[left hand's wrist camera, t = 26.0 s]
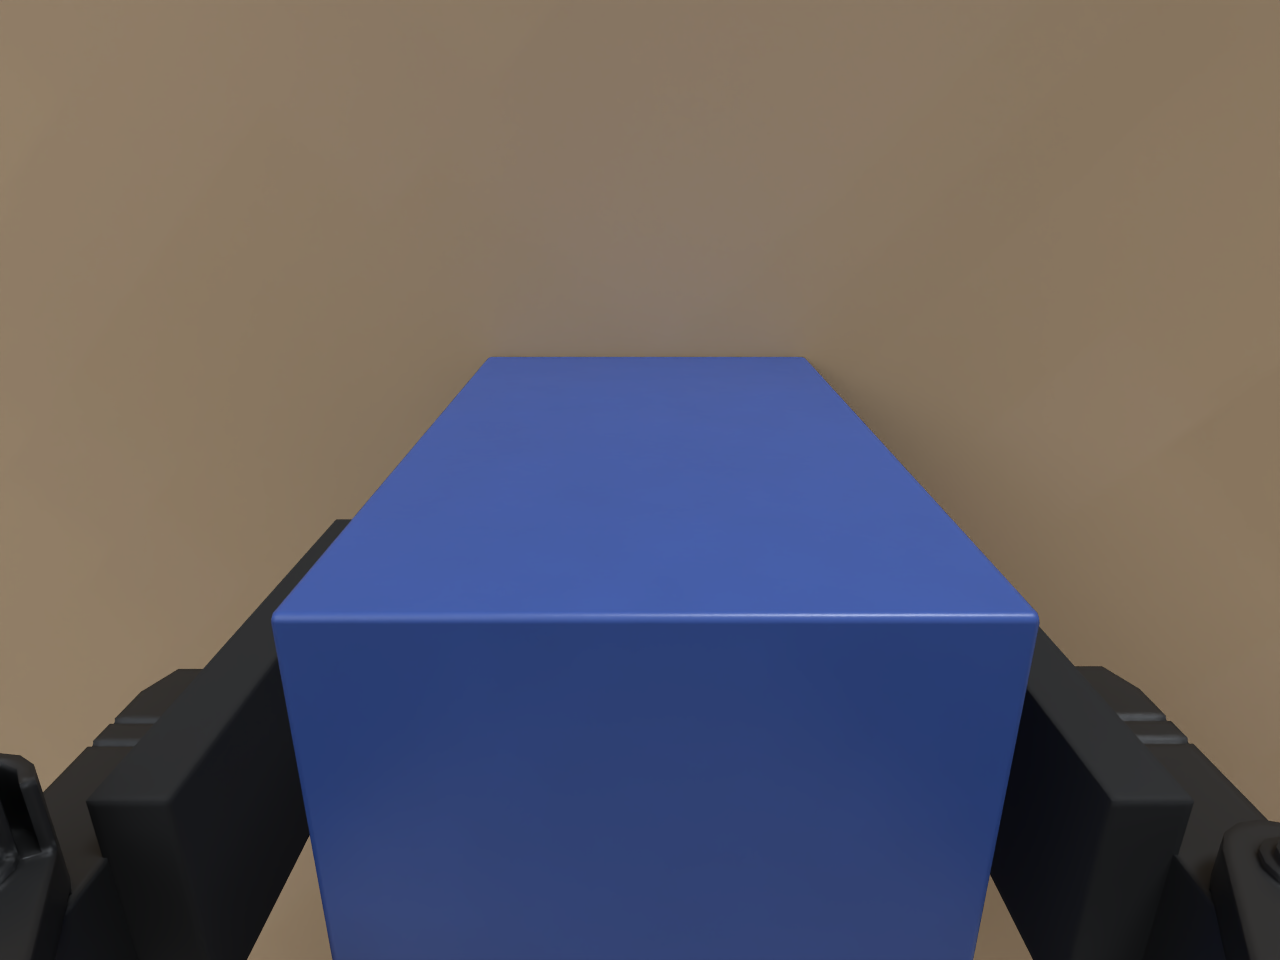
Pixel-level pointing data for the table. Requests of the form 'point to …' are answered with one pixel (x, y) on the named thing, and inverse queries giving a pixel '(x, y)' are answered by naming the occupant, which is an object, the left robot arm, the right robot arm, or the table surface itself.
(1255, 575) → the table surface
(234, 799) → the left robot arm
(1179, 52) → the table surface
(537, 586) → the block
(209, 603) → the table surface
